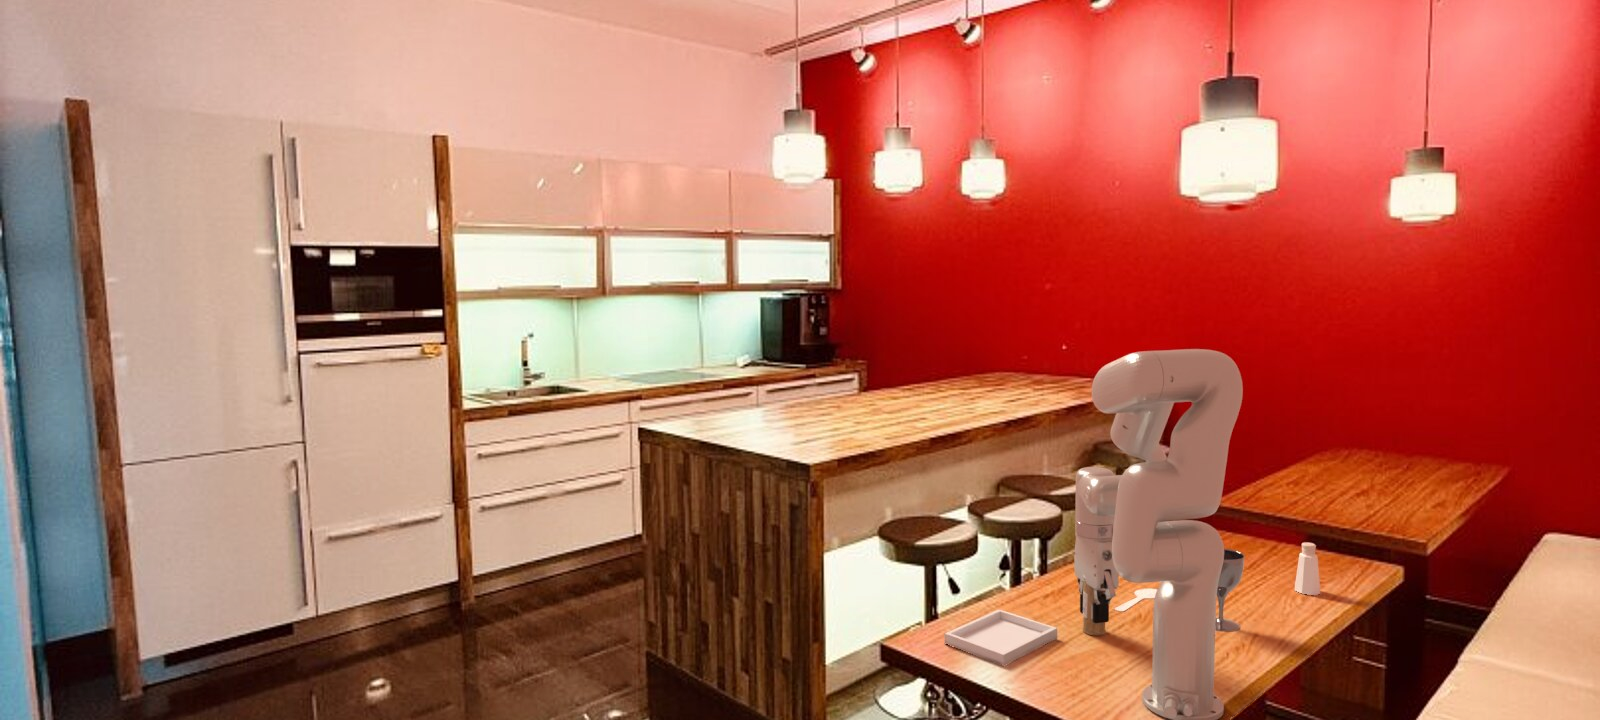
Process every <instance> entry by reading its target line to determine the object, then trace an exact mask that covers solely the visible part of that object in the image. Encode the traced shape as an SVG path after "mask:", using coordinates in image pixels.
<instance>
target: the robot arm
mask: <svg viewBox="0 0 1600 720" xmlns="http://www.w3.org/2000/svg"><path fill="white" fill-rule="evenodd" d="M1241 375H1242V374H1241V372H1240V370H1239V368H1238V365H1237V364H1236V362H1235V361H1234V360H1233V359H1232V357H1230V356H1228V355H1227V354H1226V353H1223V352H1221V351H1217V350H1212V349H1204V348H1203V349H1202V348H1201V349H1200V348H1190V349H1189V348H1186V349H1185V348H1184V349H1183V348H1182V349H1170V350H1169V349H1168V350H1166V349H1165V350H1164V349H1163V350H1147V351H1146V350H1144V351H1136V352H1131V353H1128V354H1126V355H1124V356H1122V357H1119V358H1117V359H1116V360H1113V361H1111V362H1109V363H1107V364H1105V365H1104V366H1102V367H1101V368H1100V369H1099V370H1098V371H1097V373H1096V374H1095V376H1094V378H1093V381H1092V385H1091V397H1092V402H1093V404H1094V407H1095V408H1096V409H1097V410H1098V411H1100V413H1103V414H1115V416H1114V418H1113V422H1112V425H1111V428H1110V433H1109V434H1110V438H1111V440H1112V442H1113V444H1114V445H1115V446H1116V447H1117V448H1118V449H1120V450H1121V451H1122V452H1124V453H1126V454H1128V455H1130V456H1133V457H1136V458H1139V459H1140V460H1144V462H1138V463H1135V464H1131V465H1130V466H1129V467H1128V468H1126V469H1125V470H1124V472H1123V473H1122V474H1117V475H1116V474H1115V473H1114V472H1113V470H1111V469H1109V468H1105V467H1101V466H1087V467H1082V468H1080V469H1078V470H1077V472H1076V473H1075V517H1074V518H1075V521H1074V522H1075V525H1074V526H1075V529H1074V530H1075V532H1074V533H1075V534H1074V535H1075V545H1074V554H1073V555H1074V556H1073V558H1074V560H1073V561H1074V562H1073V564H1074V565H1073V567H1074V574H1075V576H1076V578H1077V583H1078V592H1079V612H1080V613H1081V614H1082V615H1083V583H1084V581H1086V583H1087V584H1088V585H1089V586H1091V587H1092V588H1094V598H1095V603H1093V622H1094V623H1104V622H1105V623H1108V622H1109V621H1110V619H1109V618H1110V604H1111V600H1112V599H1113V598H1114V597H1116V590H1117V589H1118V588H1119V582H1120V581H1119V577H1120V578H1122V579H1123V580H1125V581H1127V582H1129V583H1136V584H1137V583H1138V584H1144V583H1145V584H1146V583H1149V584H1150V583H1158V582H1159V583H1160V584H1159V586H1158V588H1157V592H1156V595H1155V598H1154V599H1153V607H1152V610H1153V614H1152V615H1153V616H1152V666H1151V667H1152V672H1151V673H1152V675H1151V678H1152V679H1151V684H1149V685H1148V686H1146V687H1145V688H1144V689H1143V690H1142V693H1141V696H1142V697H1141V698H1142V699H1141V700H1142V703H1143V704H1144V705H1145V706H1146V708H1147V709H1148V710H1150V711H1151V712H1152V713H1154V714H1156V715H1158V716H1160V717H1162V718H1165V719H1168V720H1218V719H1220V718H1221V717H1222V716H1223V715H1224V710H1225V705H1224V702H1223V701H1222V699H1221V698H1220V697H1219V696H1217V694H1215V693H1214V692H1215V659H1216V658H1215V653H1216V650H1215V649H1216V630H1215V620H1216V618H1217V616H1216V615H1217V614H1216V612H1217V598H1218V597H1217V588H1218V582H1219V577H1220V573H1221V569H1222V565H1223V560H1224V548H1225V547H1224V543H1223V542H1224V541H1223V539H1222V537H1221V535H1220V533H1219V531H1217V529H1216V528H1215V527H1213V526H1212V525H1210V524H1209V523H1207V522H1203V521H1199V520H1194V519H1202V518H1207V517H1210V516H1212V515H1214V514H1215V513H1216V512H1217V511H1218V508H1219V506H1220V505H1221V500H1222V496H1223V489H1224V484H1225V483H1224V482H1225V478H1226V477H1225V476H1226V469H1227V468H1226V467H1227V463H1228V454H1229V447H1230V446H1229V445H1230V440H1231V437H1232V432H1233V429H1234V428H1235V424H1236V422H1237V419H1238V417H1239V412H1240V411H1241V410H1240V409H1241V406H1242V403H1243V401H1242V400H1243V395H1244V394H1243V393H1244V392H1243V391H1244V389H1243V388H1244V387H1243V379H1242V376H1241ZM1185 402H1191V406H1190V407H1189V408H1188V409H1187V410H1186V411H1185V412H1184V413H1183V414H1182V416H1180V417H1179V419H1178V421H1177V422H1176V424H1175V426H1174V427H1173V430H1172V431H1171V435H1170V444H1169V450H1168V451H1169V452H1168V455H1166V452H1165V451H1164V449H1163V447H1162V446H1161V445H1160V441H1161V438H1162V435H1163V433H1164V430H1165V428H1166V426H1167V423H1168V419H1169V417H1170V415H1171V412H1172V409H1173V407H1174V404H1175V403H1185ZM1083 575H1085V577H1086V578H1084V577H1083ZM1083 578H1084V579H1085V580H1084V579H1083ZM1101 585H1104V587H1101ZM1115 589H1116V590H1115ZM1099 591H1104V594H1101V595H1099Z"/></svg>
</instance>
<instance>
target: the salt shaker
mask: <svg viewBox="0 0 1600 720" xmlns="http://www.w3.org/2000/svg"><path fill="white" fill-rule="evenodd" d="M1316 547H1317V545H1316V544H1315V543H1313V542H1308V541H1307V542H1305V541H1304V542H1302V543H1301V552H1300V553H1299V556H1298V562H1297V570H1296V577H1295V583H1294V590H1295V591H1297V592H1296V593H1298V592H1299V593H1298V594H1300V593H1302V594H1301V595H1304V594H1307V595H1306V596H1311V595H1314V596H1319V595H1318V594H1320V595H1321V584H1320V574H1319V573H1320V571H1319V559H1318V555H1317V554H1316ZM1295 591H1294V592H1295Z"/></svg>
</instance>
